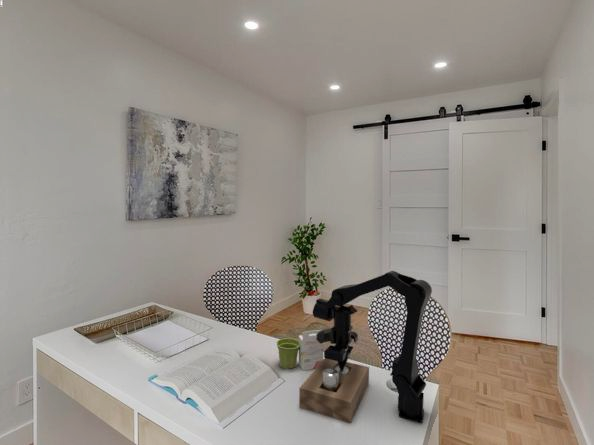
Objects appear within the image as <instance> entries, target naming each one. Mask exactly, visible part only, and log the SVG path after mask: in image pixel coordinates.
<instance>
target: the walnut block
mask: <svg viewBox="0 0 594 445" xmlns="http://www.w3.org/2000/svg"><path fill="white" fill-rule="evenodd" d="M336 366H339V364H338V361H335V360H330V359H326V358H324V357H323V361H322V362H321V363H320V364H319V365H318V367H317V368H316V369H313V371H312V373H311V374H310V375H309V376H308V377H307V378H306V379H305V381H304V382H303V383H302V384H301V386H300V387H299V390H298V391H299V399H298V401H299V404H298V405H299V408H301V409H304V410H307V411H310V412H313V413H317V414H320V415H323V416H326V417H330V418H333V419H336V420H340V421H342V422H346V423H349V424H351V423H352V422H353V418H355V415H356V412H357V410H358V408H359V406H360V403H361V401H362V400H363V398H364V395H365V393H366V391H367V389H368V386H369V385H370V366H367V365H361V364H358V363H352V362H348V361H347V363H346V365H345V366H346V367H347V368H348V369H349V373H348V375H345V374H341V373H339V379H338V391H337V392H332V391H328V390H325V389H323V371H324V370H326V369H334V370H335V367H336Z"/></svg>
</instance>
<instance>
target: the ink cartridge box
mask: <svg viewBox="0 0 594 445" xmlns="http://www.w3.org/2000/svg"><path fill="white" fill-rule="evenodd" d="M321 330H322V329H318V330H317V329H316V330H308V331H302V333H301V335H298V341H299V345H300V347H299V350H298V366H299V367H300V369H301V371H302V372H303V371H310V370H315V369H316V368H317V367H318V365H319V364H320V363H321V362H322V361H323V360H324V342H323V343H321V344H320V342H318V341H317V340H316V338H317V336H316V335H317V334H318V332H320V331H321Z"/></svg>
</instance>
